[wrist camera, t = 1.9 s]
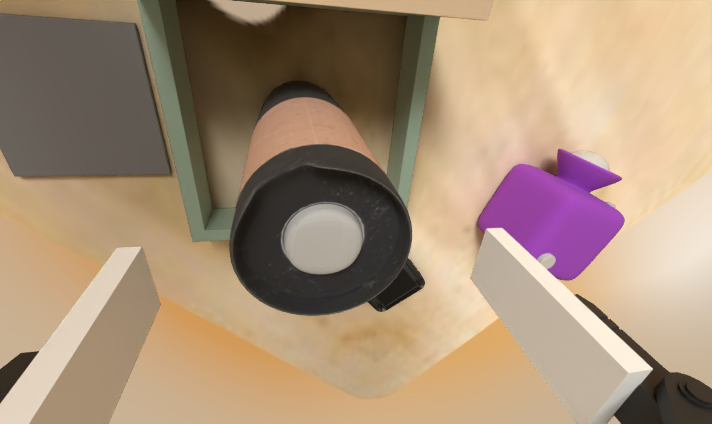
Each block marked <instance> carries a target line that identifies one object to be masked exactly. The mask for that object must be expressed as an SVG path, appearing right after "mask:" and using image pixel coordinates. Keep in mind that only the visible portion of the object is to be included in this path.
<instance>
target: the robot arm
mask: <svg viewBox="0 0 712 424" xmlns="http://www.w3.org/2000/svg"><path fill="white" fill-rule="evenodd" d="M470 279H471V280H472V281H473V283H474V284H475V285H476V287H477V288H478V290H479V291H480V292H481V294H482V295H483V296H484V298H485V299H486V301H487V302H488V303H489V305H490V306H491V307H492V309H493V310H494V311H495V313H496V314H497V316H498V317H499V318H500V320H501V321H502V322H503V324H504V325H505V326H506V328H507V329H508V331H509V332H510V333H511V335H512V336H513V337H514V339H515V340H516V342H517V343H518V344H519V346H520V347H521V348H522V350H523V351H524V353H525V354H526V355H527V356H528V358H529V359H530V361H531V362H532V363H533V365H534V366H535V368H536V369H537V370H538V372H539V373H540V374H541V375H542V377H543V378H544V380H545V381H546V383H547V384H548V385H549V386H550V388H551V389H552V391H553V392H554V394H555V395H556V396H557V398H558V399H559V400H560V402H561V403H562V404H563V406H564V407H565V409H566V410H567V411H568V413H569V414H570V415H571V417H572V418H573V419H574V421H575V422H576V424H607V423H608V422H609V420H610V419H611V418H612V417H613V416H615V417H616V418H617V419H618V420H619V422H620V423H621V424H712V389H711V388H710V387H708V386H707V385H705V384H704V383H702V382H701V381H699V380H697V379H695V378H692V377H691V376H688V375H685V374H681V373H678V372H676V373H670V372H669V371H667V370H666V369H665V368H664V367H663V366H661V365H660V364H659V363H658V362H657V361H656V360H655V359H654V358H653V357H651V356H650V355H649V354H648V353H647V352H646V351H645V350H643V348H641V347H640V346H639V345H638V344H637V343H636V342H635V341H634V340H632V338H631V337H629V336H628V335H627V334H626V333H625V332H624V331H623V330H620V329H619V327H618V326H617V325H616V324H615V323H614V322H613V321H612V320H611V319H608V317H607V316H606V315H605V314H604V313H603V312H602V311H601V310H600V309H598V308H597V307H596V306H595V305H594V304H592V303H591V302H589V301H587V300H586V299H584V298H583V297H581V296H579V295H578V294H576V295H573V294H572V293H571V292H570V291H569V290H568V289H567V288H566V287H565V286H564V285H563V284H562V283H561V282H560V281H558V280H557V279H556V278H555V277H554V276H553V275H552V274H551V273H550V272H549V271H548V270H547V269H546V268H545V267H544V266H542V265H541V264H540V263H539V262H538V261H537V260H536V259H535V258H534V257H533V256H532V255H531V254H530V253H529V252H528V251H526V250H525V249H524V248H523V247H522V246H521V245H520V244H519V243H518V242H517V241H516V240H515V239H514V238H513V237H511V236H510V235H509V234H508V233H507V232H506V231H505V230H504V229H503V228H488V229H486V230H485V234H484V237H483V240H482V243H481V246H480V249H479V252H478V255H477V259H476V262H475V265H474V268H473V271H472V274H471V277H470ZM160 305H161V303H160V300H159V297H158V294H157V291H156V288H155V285H154V282H153V279H152V275H151V272H150V269H149V266H148V263H147V260H146V257H145V254H144V251H143V248H142V246H141V247H121V248H116V250H115V251H114V252H113V254H112V255H111V256H110V258H109V259H108V260H107V262H106V263H105V264H104V266H103V267H102V268H101V270H100V271H99V273H98V274H97V275H96V277H95V278H94V279H93V280H92V282H91V283H90V284H89V286H88V287H87V288H86V290H85V291H84V293H83V294H82V295H81V297H80V298H79V299H78V300H77V302H76V303H75V304H74V306H73V307H72V309H71V310H70V311H69V313H68V314H67V316H66V317H65V318H64V319H63V321H62V322H61V323H60V325H59V326H58V327H57V329H56V330H55V331H54V333H53V334H52V335H51V337H50V338H49V340H48V341H47V342H46V343H45V345H44V346H43V347H42V349H41V350H40V351H37V352H27V353H20V354H19V355H18V356H17V357H15V358H14V359H13V360H11V361H10V362H9V363H8V364H6V365H5V366H4V367H3V368H1V369H0V424H109V422H110V419H111V417H112V415H113V412H114V410H115V408H116V406H117V403H118V401H119V399H120V397H121V394H122V392H123V390H124V387H125V385H126V383H127V381H128V378H129V376H130V374H131V371H132V369H133V367H134V365H135V362H136V360H137V358H138V356H139V353H140V351H141V349H142V346H143V344H144V342H145V340H146V337H147V335H148V333H149V331H150V328H151V326H152V324H153V321H154V319H155V317H156V315H157V312H158V310H159V308H160Z"/></svg>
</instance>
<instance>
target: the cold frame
mask: <svg viewBox="0 0 712 424" xmlns="http://www.w3.org/2000/svg"><path fill="white" fill-rule="evenodd" d="M137 1H138V5H139V10H140V14H141V18H142V23H143V27H144V31H145V36H146V40H147V44H148V49H149V53H150V58H151V62H152V66H153V71H154V75H155V79H156V84H157V88H158V93H159V97H160V101H161V106H162V110H163V114H164V119H165V123H166V127H167V132H168V136H169V141H170V145H171V149H172V154H173V158H174V162H175V167H176V171H177V175H178V180H179V184H180V189H181V193H182V197H183V202H184V206H185V210H186V215H187V219H188V224H189V228H190V232H191V237H192V241H193V242H201V241H220V240H230V233H231V228H232V223H233V218H234V214H235V209H236V208H215V209H213V208H212V203H211V197H210V192H209V186H208V180H207V175H206V169H205V164H204V158H203V152H202V147H201V141H200V136H199V130H198V125H197V119H196V113H195V108H194V102H193V97H192V91H191V86H190V80H189V74H188V69H187V63H186V58H185V52H184V46H183V41H182V35H181V30H180V24H179V19H178V13H177V7H176V2H175V0H137ZM234 1H245V2H256V3H267V4H278V5H289V6H300V7H311V8H322V9H333V10H344V11H356V12H367V13H378V14H389V15H400V16H407V21H406V28H405V36H404V44H403V52H402V60H401V67H400V75H399V83H398V91H397V99H396V106H395V114H394V122H393V130H392V137H391V145H390V153H389V161H388V169H387V177H388V178H389V180H390V181H391V183H392V184H393V186H394V188H395V189H396V191H397V192H398V194H399V195H400V197H401V198H402V200H403V202H404V204H405V206H406V208H407V204H408V199H409V193H410V187H411V181H412V175H413V170H414V164H415V158H416V152H417V146H418V141H419V135H420V129H421V123H422V118H423V112H424V106H425V100H426V94H427V89H428V83H429V77H430V71H431V65H432V60H433V54H434V48H435V42H436V36H437V31H438V25H439V19H440V17H451V18H462V19H473V20H489V16H490V12H491V8H492V3H493V0H234Z"/></svg>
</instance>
